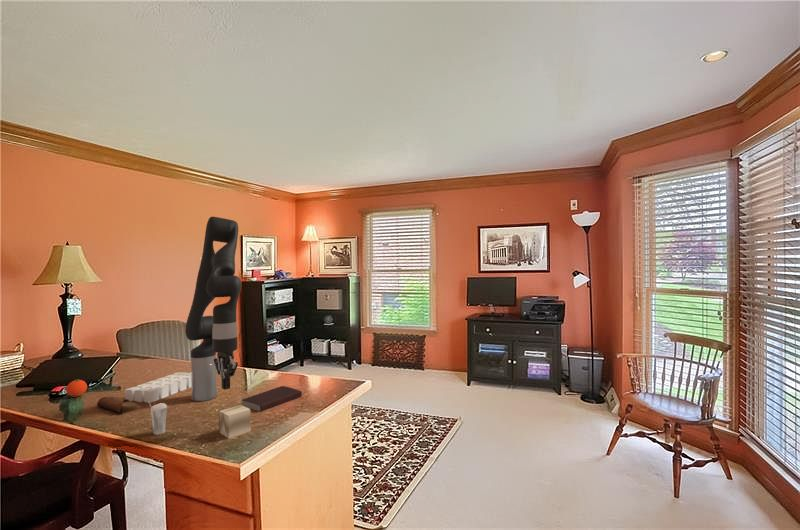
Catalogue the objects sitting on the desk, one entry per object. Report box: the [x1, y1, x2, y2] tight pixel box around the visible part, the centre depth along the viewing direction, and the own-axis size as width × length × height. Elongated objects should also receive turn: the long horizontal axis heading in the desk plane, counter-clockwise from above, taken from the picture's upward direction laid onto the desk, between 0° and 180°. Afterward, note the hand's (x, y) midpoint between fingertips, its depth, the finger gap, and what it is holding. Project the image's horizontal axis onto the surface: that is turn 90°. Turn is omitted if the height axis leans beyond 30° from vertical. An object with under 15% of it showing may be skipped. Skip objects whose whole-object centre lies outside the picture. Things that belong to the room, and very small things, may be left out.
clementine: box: [65, 379, 88, 398], centre depth 164 cm, size 8×7×7 cm
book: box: [241, 385, 303, 412], centre depth 151 cm, size 12×19×3 cm, turn 145°
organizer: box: [124, 371, 191, 404], centre depth 172 cm, size 13×5×35 cm
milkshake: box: [147, 402, 168, 436], centre depth 124 cm, size 4×5×10 cm
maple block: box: [218, 404, 252, 439], centre depth 123 cm, size 7×7×7 cm
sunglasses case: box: [96, 396, 143, 415], centre depth 149 cm, size 18×7×7 cm, turn 61°
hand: (225, 388), depth 127 cm, fingers closed
